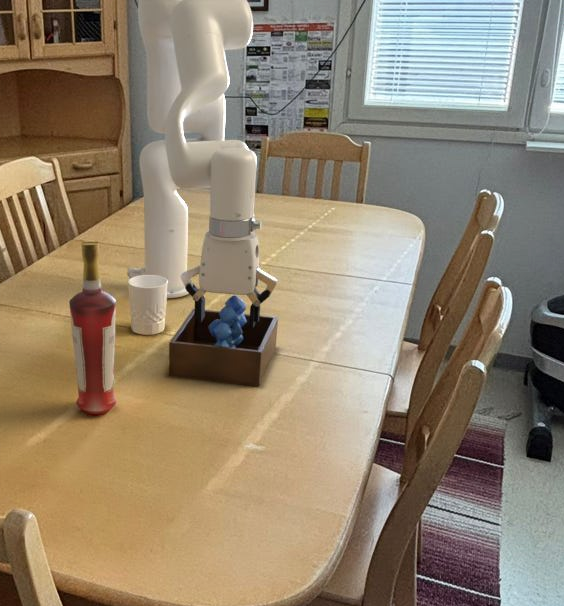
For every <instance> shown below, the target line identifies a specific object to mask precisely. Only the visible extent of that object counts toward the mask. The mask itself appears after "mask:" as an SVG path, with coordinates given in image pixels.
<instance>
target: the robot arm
mask: <svg viewBox="0 0 564 606" xmlns="http://www.w3.org/2000/svg"><path fill="white" fill-rule="evenodd" d="M253 18H254V17H253V13H252V9H251V6H250V4H249V2H248V0H138V4H137V20H138V28H139V32H140V35H141V40H142V43H143V47H144V49H145V50H144V51H145V55H146V63H147V64H146V66H147V67H146V72H147V73H146V111H147V112H146V114H147V116H146V117H147V122H148V123H147V124H148V127H149V128H150V129H151V130H152V131H153V132H155V133H157V134H163V135H164V139H161V140H155V141H151V142H150V143H148V144H146V145H145V146H143V148H142V149H141V152H140V154H139V170H140V171H139V172H140V177H141V184H142V191H143V216H144V217H143V220H144V221H143V222H144V229H143V230H144V231H143V233H144V240H143V241H144V267H141V268H136V267H128V268H127V270H126V271H127V272H126V275H127V277H128V280H129V279H130V278H132V277H135V276H140V275H157V276H161V277H164V278H166V279H167V281H168V284H167V299H175V298H180V297H185V296H187V295H190V296H191V297H192V300H193V301H194V309H195V316H197V323H200V322H202V320H203V319H204V317H205V310H206V297H205V296H204V295H205V294H206V293H212V294H213V293H214V294H226V295H235V296H237V295H238V296H247V298H248V299H249V300H250V301H251V305H250V308H249V314H250V320H249V327H250V328H253V327H254V325H255V323H256V322H259V318H260V315H261V304H262V303H264V302H265V301H266V300H267V299H268V298H270V296H271V294H272V293H273V291H274V289H275V288H276V286H277V285H278V279H276V278H275V277H274V276H272V275H270V274H268V273H267V272H265V271H263V270H262V269H260V251H259V250H260V248H259V238H258V234H257V233H256V232H254V231H261V230H262V224H263V223H262V221H258V220H256V218H255V214H254V213H255V212H254V211H255V197H256V196H255V195H256V179H257V163H258V161H257V160H258V159H257V156H256V153H255V152H254V151H253V150H252V149H249V147H248V146H247V144H246V143H245V142H244V141H242V140H239V139H225V128H226V99H225V93H226V91H227V90H228V88H229V85H230V74H229V69H228V64H227V57H226V52H225V51H232V50H233V51H234V50H243V49H244V48H246V47H247V46H248V45H249V44H250V42H251V39H252V36H253V31H254V19H253ZM187 133H188V134H192V133H199V137H195V138H194V137H193V138H185V135H184V134H187ZM209 188H210V189H209ZM180 189H183V190H195V189H209V215H208V231H206V232H205V234H204V238H203V241H202V248H201V255H200V262H199V265H197V266H195V267H193V268H190V269H188V241H189V240H188V239H189V238H188V235H189V234H188V233H189V232H188V231H189V209H188V206H187V204H186V203H185V200H184V199H182V197H181V196H180V195H179V193H178V192H177V190H180ZM196 276H198V286H199V288H198V287H197V286H196V285H195V283H194V282H193V281H192V278H193V277H196ZM259 281H260V282H262V283H264V284H265V285H266V288H265V289H263V291H262V292H261V293H260V291H259V290H258V288H257V287H258V285H259Z"/></svg>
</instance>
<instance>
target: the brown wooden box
mask: <svg viewBox="0 0 564 606" xmlns="http://www.w3.org/2000/svg"><path fill="white" fill-rule="evenodd" d="M220 311H221V310H211V309H205V317H204V319H203V320H202V322H200V323H197V316H195V308H193V309H192V310H191V311H190V313H189V314H188V315H187V317H186V319H184V321H183V322H182V324H181V325H180V327H179V328H177V331H176V332H175V333H174V335H173V336H172V338H171V339H170V340H169V342H168V376H169V377H175V378H184V379H192V380H200V381H201V380H203V381H209V382H217V383H227V384H233V385H242V386H243V385H244V386H250V387H260V385H261V382H262V380H263V379H264V376H265V374H266V371H267V369H268V367H269V364H270V363H271V360H272V358H273V355H274V353H275V351H276V350H277V349H276V348H277V336H278V327H279V326H278V325H279V316H273V315H264V314H263V315H262V314H260V318H259V322H256V323H255V325H254V327H253V328H250V327H249V320H250V313H243V314H244V316H245V318H246V321H247V322H246V323H245V325H243V326H242V327H241V329H242V332H243V333H242V336H243V341H242V342H241V343H240V344H239V345H237V346H235V347H236V348H232V347H223V346H214V345H215V344H216V343H217V340H216V337H214V336H212V335H211V333H210V331H209V328H208V326H209V325H210V324H211V323H212V322H213V321H214V320H217V319H218V320H220V319H221V318H220V315H219V312H220Z"/></svg>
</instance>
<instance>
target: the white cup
mask: <svg viewBox="0 0 564 606" xmlns="http://www.w3.org/2000/svg"><path fill="white" fill-rule="evenodd" d="M167 284H168V281H167V279H166V278H164V277H161V276H157V275H140V276H135V277H132V278H130V279H129V278H128V280H127V289H128V305H129V316H130V325H131V326H130V327H131V328H130V329H131V331H132V332H133V333H136V334H138V335H143V336H153V335H157V334H160V333H162V332H163V331H164V330H165V326H166V315H167V313H166V312H167V303H168V302H167V301H168V298H167Z"/></svg>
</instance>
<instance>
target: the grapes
mask: <svg viewBox="0 0 564 606" xmlns="http://www.w3.org/2000/svg"><path fill="white" fill-rule="evenodd" d="M246 310H247V306H246V304H245V301H244V299H242V298H240V297H239V296H237V295H236V294H233V295H231V296H230V297H229V298H228V299H227V300H226V301H225V302H224V307H223V308H221V309H220V310H219V311H220V312H219V315H220V318H221V319H220V320H218V319H217V320H214V321H213V322H212V323H211V324H210V325H209V326H208V328H209V331H210V333H211V335H212V336H214V337H216V340H217V343H216V344H215V345H214V346H223V347H232V348H236V347H235V346H237V345H239V344H240V343H241V342H242V341H243V336H242V333H243V332H242V329H241V327H242V326H243V325H245V323H246V322H247V321H246V318H245V316H244V314H245V313H244V312H245V311H246Z"/></svg>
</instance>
